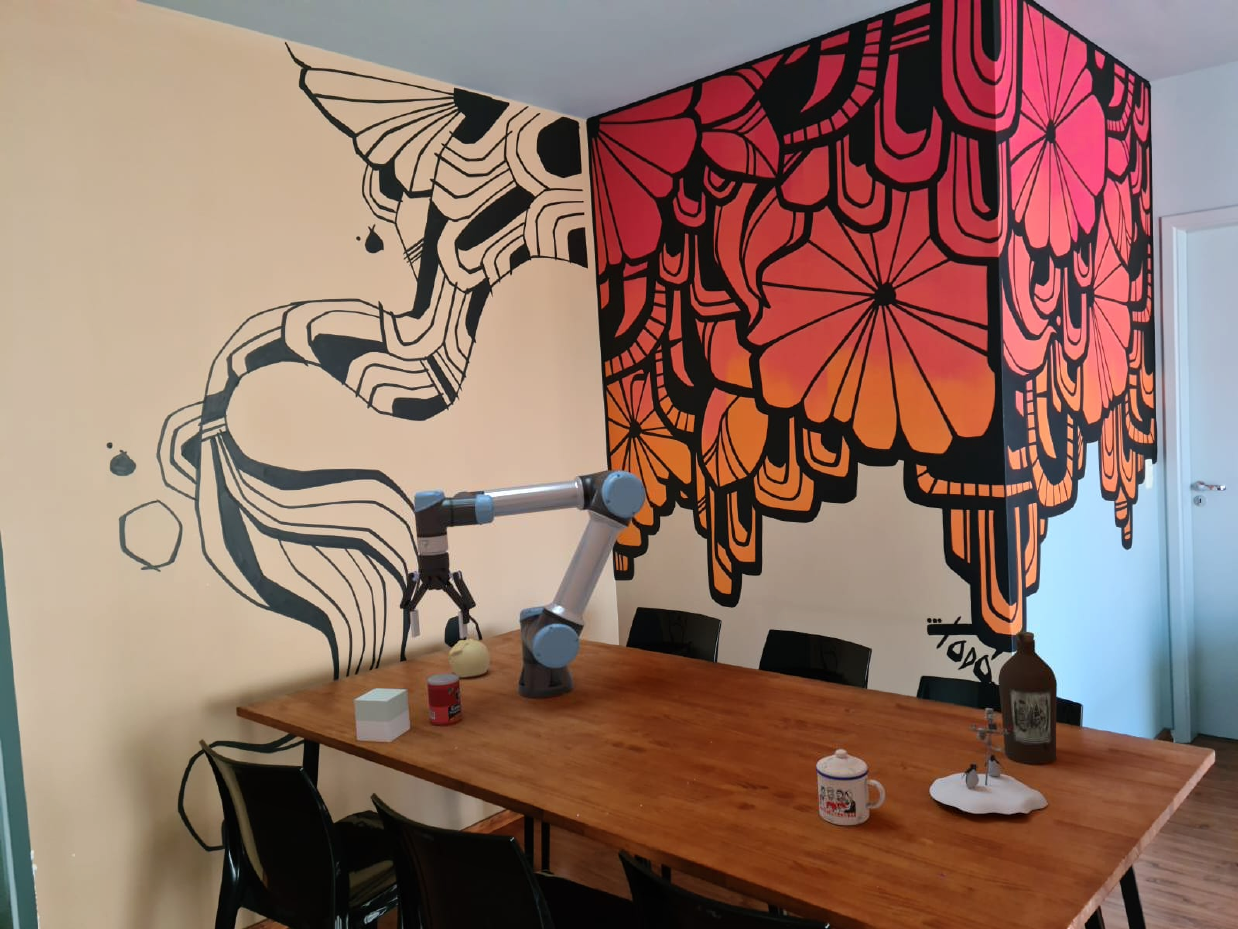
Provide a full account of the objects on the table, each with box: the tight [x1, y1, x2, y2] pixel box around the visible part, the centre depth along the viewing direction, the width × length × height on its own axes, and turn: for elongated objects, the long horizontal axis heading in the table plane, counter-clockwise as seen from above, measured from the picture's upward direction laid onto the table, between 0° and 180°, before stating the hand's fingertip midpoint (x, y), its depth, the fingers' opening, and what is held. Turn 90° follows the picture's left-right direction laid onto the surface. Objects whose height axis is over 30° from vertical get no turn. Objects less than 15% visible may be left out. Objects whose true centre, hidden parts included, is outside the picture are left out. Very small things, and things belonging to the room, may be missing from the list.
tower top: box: [353, 687, 409, 722], centre depth 212 cm, size 9×9×5 cm
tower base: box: [355, 708, 411, 743], centre depth 213 cm, size 9×9×5 cm
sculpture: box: [447, 638, 491, 678], centre depth 260 cm, size 12×12×11 cm
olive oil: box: [997, 631, 1058, 765], centre depth 175 cm, size 11×11×25 cm
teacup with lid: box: [815, 749, 886, 826], centre depth 154 cm, size 12×9×12 cm
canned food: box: [427, 673, 463, 727], centre depth 220 cm, size 8×8×11 cm
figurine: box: [929, 707, 1049, 815], centre depth 158 cm, size 20×18×16 cm
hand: (439, 636), depth 219 cm, fingers open, 13 cm apart
